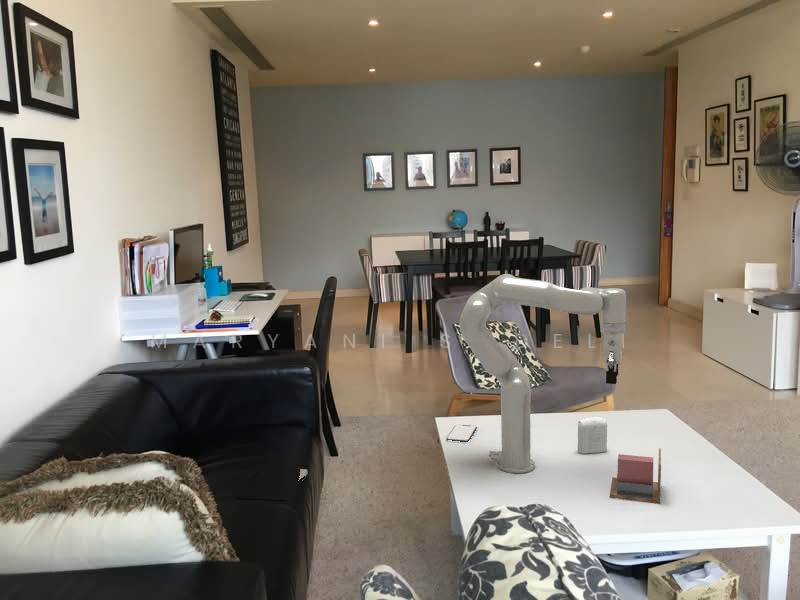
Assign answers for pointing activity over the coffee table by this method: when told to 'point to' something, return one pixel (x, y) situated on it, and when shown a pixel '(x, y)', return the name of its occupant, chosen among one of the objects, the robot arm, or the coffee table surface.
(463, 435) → the phone case
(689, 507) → the coffee table surface
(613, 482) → the shelf
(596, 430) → the photo printer
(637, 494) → the bookend
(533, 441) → the coffee table surface
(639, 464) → the book
